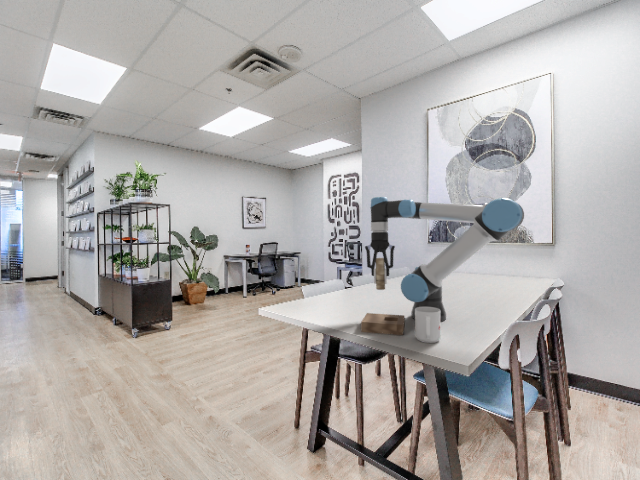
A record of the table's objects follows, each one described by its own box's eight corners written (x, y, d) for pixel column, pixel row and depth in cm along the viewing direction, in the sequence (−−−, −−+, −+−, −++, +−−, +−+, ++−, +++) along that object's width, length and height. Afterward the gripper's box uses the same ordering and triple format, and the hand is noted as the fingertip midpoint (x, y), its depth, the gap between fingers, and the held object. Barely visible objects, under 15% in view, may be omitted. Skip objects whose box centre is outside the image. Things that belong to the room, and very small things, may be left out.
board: (404, 324, 136) (404, 315, 136) (402, 335, 123) (402, 324, 123) (366, 322, 141) (366, 313, 141) (361, 331, 127) (361, 321, 127)
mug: (415, 334, 123) (415, 306, 123) (439, 336, 121) (439, 307, 120) (414, 345, 112) (414, 313, 111) (442, 347, 109) (441, 315, 109)
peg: (385, 288, 147) (385, 257, 146) (384, 289, 143) (384, 258, 142) (376, 288, 148) (376, 257, 148) (375, 289, 144) (374, 258, 144)
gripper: (399, 231, 146) (400, 282, 146) (362, 232, 151) (363, 281, 151) (398, 231, 139) (399, 285, 139) (359, 232, 144) (360, 284, 144)
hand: (380, 283), depth 145 cm, fingers closed on peg, 4 cm apart
